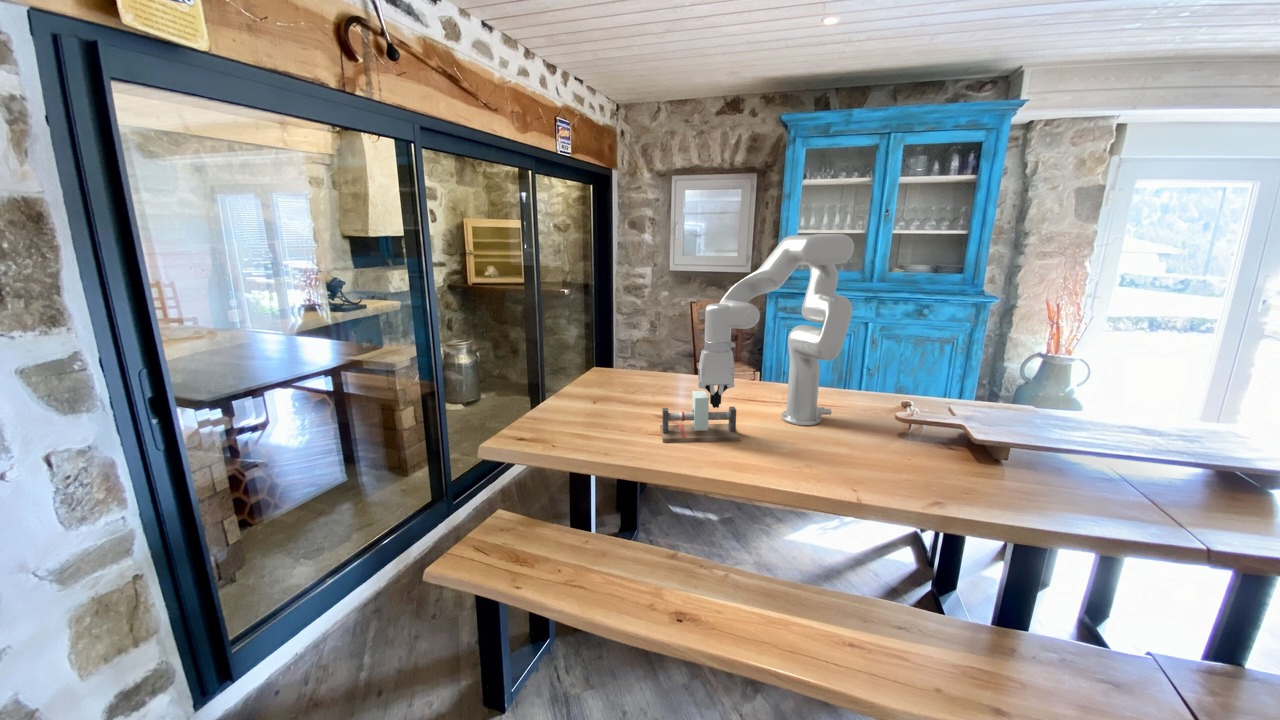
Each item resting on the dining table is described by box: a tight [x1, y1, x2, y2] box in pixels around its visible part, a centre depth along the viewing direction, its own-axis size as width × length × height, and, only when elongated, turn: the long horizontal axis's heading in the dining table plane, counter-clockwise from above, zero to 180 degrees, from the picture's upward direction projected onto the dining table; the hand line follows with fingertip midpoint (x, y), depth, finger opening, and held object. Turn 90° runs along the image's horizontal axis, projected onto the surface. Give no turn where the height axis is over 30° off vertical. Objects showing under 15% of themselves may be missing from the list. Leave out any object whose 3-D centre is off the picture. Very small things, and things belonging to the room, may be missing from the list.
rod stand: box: [659, 406, 741, 443], centre depth 154 cm, size 23×11×8 cm, turn 92°
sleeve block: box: [691, 390, 710, 431], centre depth 153 cm, size 4×7×10 cm, turn 2°
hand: (715, 406), depth 150 cm, fingers closed
